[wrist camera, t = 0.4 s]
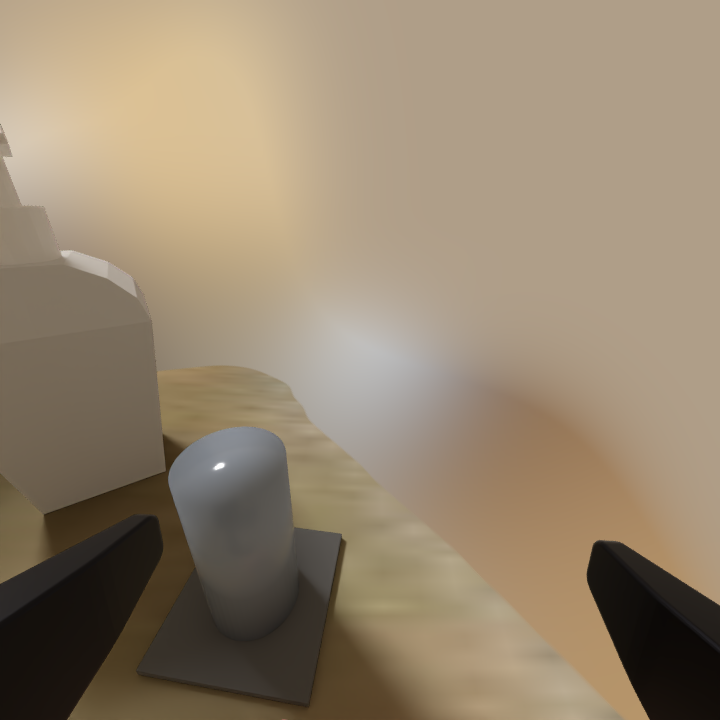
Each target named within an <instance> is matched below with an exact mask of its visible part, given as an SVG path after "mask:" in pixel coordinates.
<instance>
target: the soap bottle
mask: <svg viewBox="0 0 720 720" xmlns="http://www.w3.org/2000/svg"><path fill="white" fill-rule="evenodd" d="M2 156H7V157H12V154H11V151H10V147H9V145H8V142H7V139H6V136H5V134H4V131H3V129H2V126H1V124H0V473H1V474H2V475H3V476H4V477H5V478H6V479H7V480H8V481H9V482H10V483H11V484H12V485H13V486H14V487H15V488H16V489H17V490H18V491H20V492H21V493H22V494H23V495H24V496H25V497H26V498H27V499H28V500H29V501H30V502H31V503H32V504H33V505H34V506H35V507H36V508H37V509H38V510H39V511H41V512H42V513H43V514H46V513H49V512H52V511H55V510H58V509H61V508H63V507H66V506H69V505H72V504H75V503H77V502H80V501H83V500H86V499H89V498H91V497H94V496H97V495H100V494H103V493H106V492H108V491H111V490H114V489H117V488H120V487H122V486H125V485H128V484H131V483H134V482H136V481H139V480H142V479H145V478H148V477H150V476H153V475H156V474H159V473H162V472H165V471H166V467H165V456H164V445H163V435H162V424H161V413H160V403H159V392H158V382H157V371H156V360H155V350H154V340H153V329H152V320H151V317H150V313H149V310H148V307H147V303H146V300H145V297H144V294H143V292H142V291H141V289H140V288H139V286H138V285H137V283H136V282H135V280H134V279H133V277H132V276H130V275H128V274H127V273H125V272H124V271H122V270H121V269H119V268H117V267H116V266H114V265H113V264H111V263H109V262H107V261H104V260H101V259H98V258H94V257H91V256H88V255H85V254H82V253H79V252H76V251H73V250H70V251H60V249H59V246H58V244H57V241H56V238H55V235H54V233H53V230H52V227H51V225H50V222H49V219H48V216H47V214H46V211H45V208H44V207H43V206H22V205H21V203H20V200H19V198H18V195H17V193H16V190H15V188H14V185H13V183H12V180H11V177H10V175H9V172H8V170H7V167H6V165H5V163H4V160H3V157H2Z"/></svg>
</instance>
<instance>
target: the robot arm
mask: <svg viewBox="0 0 720 720" xmlns="http://www.w3.org/2000/svg"><path fill="white" fill-rule="evenodd" d="M162 552H163V541H162V536H161V531H160V525H159V521H158V518H157V517H156V516H155V515H151V514H135V515H133V516H131V517H129V518H127V519H125V520H123V521H121V522H119V523H117V524H115V525H113V526H111V527H109V528H108V529H106V530H104V531H102V532H100V533H98V534H96V535H94V536H92V537H90V538H88V539H86V540H84V541H82V542H80V543H79V544H77V545H75V546H73V547H71V548H69V549H67V550H65V551H63V552H61V553H59V554H57V555H55V556H53V557H51V558H50V559H48V560H46V561H44V562H42V563H40V564H38V565H36V566H34V567H32V568H30V569H28V570H26V571H24V572H22V573H21V574H19V575H17V576H15V577H13V578H11V579H9V580H7V581H5V582H3V583H1V584H0V720H67V719H68V717H69V716H70V714H71V713H72V711H73V709H74V708H75V706H76V705H77V703H78V701H79V700H80V698H81V697H82V695H83V693H84V692H85V690H86V689H87V687H88V686H89V684H90V682H91V681H92V679H93V678H94V676H95V674H96V673H97V671H98V670H99V668H100V666H101V665H102V663H103V662H104V660H105V659H106V657H107V655H108V654H109V652H110V650H111V649H112V647H113V645H114V644H115V642H116V640H117V639H118V637H119V635H120V633H121V632H122V630H123V628H124V626H125V624H126V623H127V621H128V619H129V617H130V615H131V613H132V611H133V609H134V607H135V605H136V604H137V602H138V600H139V598H140V596H141V594H142V592H143V590H144V588H145V587H146V585H147V583H148V581H149V579H150V577H151V575H152V573H153V571H154V570H155V568H156V566H157V564H158V562H159V560H160V558H161V555H162ZM587 582H588V585H589V588H590V590H591V593H592V595H593V597H594V600H595V602H596V604H597V607H598V609H599V611H600V614H601V616H602V618H603V620H604V623H605V625H606V627H607V630H608V632H609V634H610V637H611V639H612V641H613V643H614V646H615V648H616V651H617V653H618V655H619V658H620V660H621V662H622V664H623V667H624V669H625V671H626V673H627V675H628V677H629V680H630V682H631V684H632V686H633V688H634V690H635V692H636V694H637V696H638V698H639V700H640V702H641V704H642V706H643V708H644V710H645V711H646V713H647V715H648V717H649V719H650V720H720V605H718V604H717V603H715V602H714V601H712V600H710V599H709V598H707V597H706V596H704V595H702V594H701V593H699V592H698V591H696V590H694V589H693V588H692V587H690V586H688V585H687V584H685V583H684V582H682V581H681V580H679V579H678V578H676V577H674V576H673V575H671V574H670V573H668V572H666V571H665V570H663V569H662V568H660V567H659V566H657V565H656V564H654V563H652V562H651V561H649V560H648V559H646V558H645V557H643V556H641V555H640V554H638V553H637V552H635V551H634V550H632V549H631V548H629V547H627V546H626V545H624V544H623V543H620V542H616V541H603V540H599V541H596V542H595V543H594V544H593V547H592V552H591V556H590V561H589V565H588V569H587Z"/></svg>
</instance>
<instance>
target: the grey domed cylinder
mask: <svg viewBox="0 0 720 720" xmlns="http://www.w3.org/2000/svg"><path fill="white" fill-rule="evenodd" d="M168 483H169V487H170V491H171V494H172V497H173V500H174V503H175V506H176V509H177V512H178V515H179V518H180V521H181V524H182V527H183V530H184V533H185V536H186V539H187V543H188V546H189V549H190V552H191V555H192V558H193V561H194V564H195V567H196V570H197V573H198V576H199V579H200V582H201V585H202V588H203V592H204V595H205V598H206V601H207V604H208V607H209V610H210V613H211V616H212V619H213V622H214V624H215V626H216V627H217V629H218V630H219V631H220V632H221V633H222V634H223V635H224V636H226V637H228V638H230V639H232V640H236V641H252V640H256V639H259V638H262V637H264V636H266V635H268V634H269V633H271V632H272V631H274V630H275V629H276V628H278V627H279V626H280V625H281V624H282V623H283V622H284V621H285V620H286V618H287V617H288V616H289V614H290V612H291V611H292V609H293V607H294V605H295V603H296V600H297V597H298V592H299V573H298V564H297V554H296V544H295V535H294V525H293V515H292V506H291V496H290V486H289V477H288V467H287V458H286V450H285V446H284V444H283V442H282V441H281V439H280V438H279V437H278V436H276V435H275V434H274V433H272V432H270V431H267V430H265V429H261V428H256V427H234V428H229V429H224V430H220V431H217V432H214V433H212V434H209V435H207V436H205V437H203V438H201V439H199V440H197V441H196V442H194V443H193V444H191V445H190V446H188V447H187V448H186V449H185V450H184V451H183V452H182V453H181V454H180V455H179V456H178V457H177V458H176V460H175V461H174V463H173V464H172V466H171V469H170V471H169V476H168Z"/></svg>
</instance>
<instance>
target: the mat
mask: <svg viewBox="0 0 720 720" xmlns="http://www.w3.org/2000/svg"><path fill="white" fill-rule="evenodd" d="M294 535H295V544H296V554H297V564H298V573H299V592H298V597H297V600H296V603H295V605H294V607H293V609H292V611H291V612H290V614H289V616H288V617H287V618H286V620H285V621H284V622H283V623H282V624H281V625H280V626H279V627H278V628H276V629H275V630H274V631H272V632H271V633H269V634H268V635H266V636H264V637H262V638H259V639H256V640H252V641H236V640H232V639H230V638H228V637H226V636H224V635H223V634H222V633H221V632H220V631H219V630H218V629H217V627H216V626H215V624H214V622H213V619H212V616H211V613H210V610H209V607H208V604H207V601H206V598H205V595H204V592H203V588H202V585H201V582H200V579H199V576H198V573H197V570H196V567H195V569H194V570H193V572H192V574H191V576H190V577H189V579H188V581H187V583H186V584H185V586H184V588H183V590H182V591H181V593H180V595H179V597H178V598H177V600H176V602H175V604H174V605H173V607H172V609H171V611H170V612H169V614H168V616H167V618H166V619H165V621H164V623H163V624H162V626H161V628H160V630H159V631H158V633H157V635H156V637H155V638H154V640H153V642H152V644H151V645H150V647H149V649H148V651H147V652H146V654H145V656H144V658H143V659H142V661H141V663H140V665H139V666H138V668H137V670H136V672H137V673H138V674H139V675H144V676H149V677H154V678H159V679H165V680H170V681H175V682H180V683H185V684H191V685H196V686H201V687H206V688H211V689H217V690H222V691H227V692H232V693H237V694H243V695H248V696H253V697H258V698H263V699H269V700H274V701H279V702H284V703H290V704H295V705H300V706H305V707H309V702H310V697H311V692H312V687H313V682H314V677H315V671H316V666H317V661H318V656H319V651H320V646H321V641H322V635H323V630H324V625H325V620H326V615H327V610H328V605H329V600H330V594H331V589H332V584H333V579H334V574H335V569H336V564H337V559H338V553H339V548H340V543H341V538H342V534H339V533H332V532H324V531H317V530H309V529H302V528H294Z"/></svg>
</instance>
